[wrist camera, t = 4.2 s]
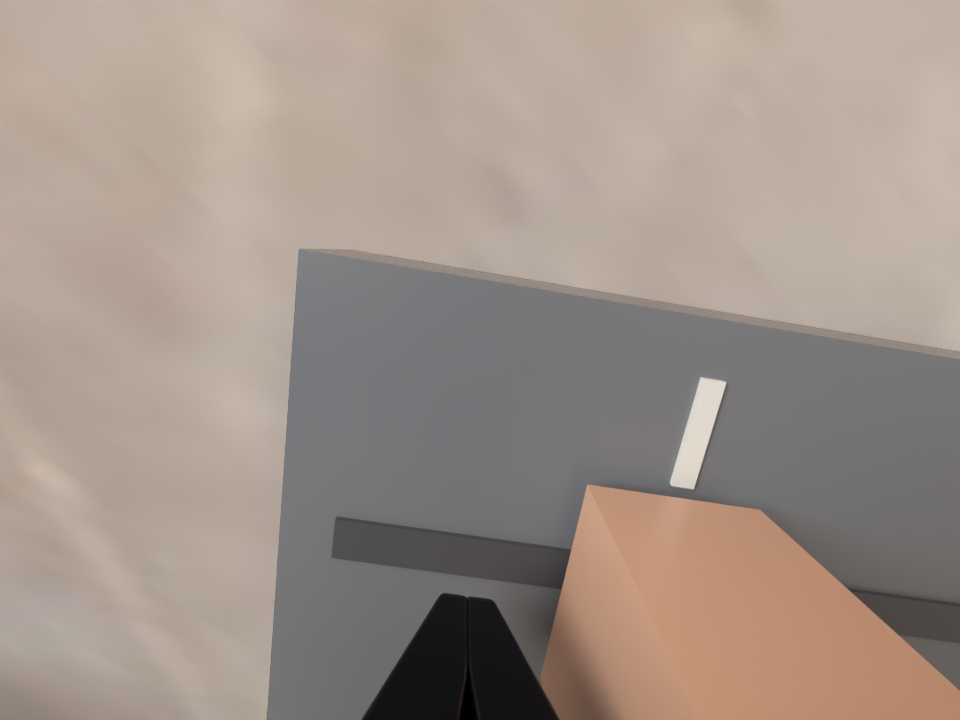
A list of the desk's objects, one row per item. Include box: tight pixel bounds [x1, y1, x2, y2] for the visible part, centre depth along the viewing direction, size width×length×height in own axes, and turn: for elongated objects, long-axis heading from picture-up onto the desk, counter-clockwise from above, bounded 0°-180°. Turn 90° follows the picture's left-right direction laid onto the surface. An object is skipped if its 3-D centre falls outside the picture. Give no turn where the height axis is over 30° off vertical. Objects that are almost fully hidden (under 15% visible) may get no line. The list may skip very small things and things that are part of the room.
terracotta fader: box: [541, 484, 960, 720], centre depth 6 cm, size 3×4×4 cm
